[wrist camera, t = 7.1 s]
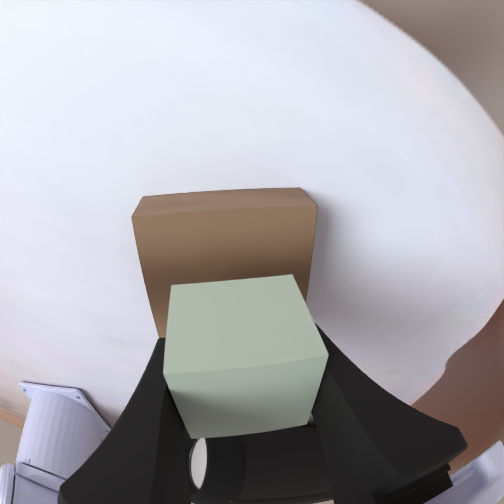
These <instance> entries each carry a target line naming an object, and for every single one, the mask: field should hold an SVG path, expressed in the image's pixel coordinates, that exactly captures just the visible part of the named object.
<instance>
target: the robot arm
mask: <svg viewBox="0 0 504 504" xmlns="http://www.w3.org/2000/svg"><path fill="white" fill-rule="evenodd" d="M315 325H316V327H317V329H318V332H319V334H320V336H321V338H322V341H323V343H324V345H325V347H326V350H327V352H328V354H329V355H328V359H327V362H326V366H325V369H324V373H323V376H322V379H321V383H320V386H319V389H318V392H317V396H316V399H315V402H314V405H313V408H312V411H311V413H312V416H313V418H314V421H315V424H316V426H317V429H318V432H319V435H320V439H321V443H322V447H323V451H324V455H325V459H326V464H327V468H328V473H329V478H330V483H331V488H332V494H333V500H334V504H495V503H497V502H498V501H499V499H500V498H502V497H503V496H504V446H503V444H502V443H501V441H498V442H497V443H496V444H494V445H493V446H492V447H491V448H489V449H488V450H487V451H486V452H484V453H483V454H482V455H480V456H479V457H478V458H476V459H475V460H473V461H472V462H471V463H469V464H468V465H466V466H465V467H463V468H462V469H460V470H459V471H457V472H456V473H454V474H453V475H452V476H450V477H449V475H448V471H450V466H449V464H448V463H449V462H450V461H451V460H453V459H454V458H455V457H457V456H458V455H459V454H461V453H462V452H463V451H464V450H466V448H467V445H468V444H467V443H466V441H465V439H464V437H463V435H462V433H461V432H460V430H459V429H458V428H457V427H455V426H452V425H449V424H447V423H444V422H441V421H439V420H436V419H434V418H432V417H430V416H428V415H426V414H424V413H422V412H419V411H418V410H416V409H414V408H413V407H411V406H409V405H407V404H406V403H404V402H402V401H401V400H399V399H397V398H396V397H395V396H393V395H392V394H390V393H389V392H387V391H386V390H385V389H383V388H382V387H380V386H379V385H378V384H377V383H375V382H374V381H373V380H372V379H370V378H369V377H368V376H367V375H366V374H365V373H364V372H362V371H361V370H360V369H359V368H358V367H357V366H356V365H355V364H354V363H353V362H352V361H351V360H350V359H349V358H348V357H347V356H346V355H345V354H343V353H342V351H341V350H340V349H339V348H338V347H337V346H336V345H335V344H334V343H333V342H332V341H331V340H330V339H329V338H328V337H327V335H326V334H325V333H324V332H323V331H322V330H321V329H320V328H319V326H318V325H317V324H316V323H315ZM165 342H166V338H159V339H158V340H157V343H156V346H155V348H154V351H153V353H152V356H151V358H150V360H149V362H148V365H147V367H146V369H145V371H144V373H143V375H142V377H141V379H140V382H139V384H138V386H137V388H136V389H135V391H134V393H133V395H132V397H131V398H130V400H129V402H128V404H127V406H126V407H125V409H124V411H123V412H122V414H121V416H120V417H119V419H118V420H117V422H116V423H115V425H114V426H113V428H112V429H111V428H110V427H109V426H108V425H107V423H106V422H105V421H104V420H103V419H102V417H101V416H100V415H99V414H98V413H97V411H96V410H95V409H94V408H93V406H92V405H91V404H90V402H89V401H88V400H87V398H86V397H85V396H84V394H83V393H82V392H81V391H80V390H79V389H75V388H64V387H55V386H47V385H40V384H33V383H26V382H19V384H18V385H19V387H20V388H21V389H22V391H23V392H24V393H25V394H26V395H27V396H28V398H29V399H30V400H31V404H30V407H29V410H28V414H27V417H26V421H25V424H24V428H23V432H22V436H21V440H20V445H19V449H18V454H17V459H16V463H15V464H13V465H11V464H9V463H7V464H5V465H2V466H1V469H0V504H191V501H190V494H189V487H188V480H187V471H186V462H185V446H184V440H185V424H184V422H183V420H182V418H181V415H180V413H179V411H178V409H177V406H176V404H175V402H174V399H173V397H172V394H171V392H170V389H169V387H168V385H167V382H166V379H165V377H164V374H163V369H164V354H165Z"/></svg>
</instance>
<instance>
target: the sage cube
mask: <svg viewBox="0 0 504 504" xmlns="http://www.w3.org/2000/svg"><path fill="white" fill-rule="evenodd" d="M328 355H329V354H328V352H327V350H326V347H325V345H324V343H323V341H322V338H321V336H320V334H319V332H318V329H317V327H316V325H315V323H314V321H313V318H312V316H311V314H310V312H309V310H308V307H307V305H306V303H305V301H304V299H303V297H302V294H301V292H300V290H299V288H298V286H297V284H296V281H295V279H294V277H293V275H292V274H291V275H281V276H271V277H261V278H250V279H239V280H228V281H217V282H205V283H192V284H179V285H171V292H170V301H169V310H168V320H167V330H166V342H165V354H164V369H163V374H164V377H165V379H166V382H167V385H168V387H169V389H170V392H171V394H172V397H173V399H174V402H175V404H176V406H177V409H178V411H179V413H180V415H181V418H182V420H183V422H184V424H185V426H186V429H187V431H188V433H189V435H190V437H191V439H194V438H212V437H225V436H235V435H244V434H252V433H260V432H267V431H273V430H279V429H285V428H290V427H296V426H301V425H305V424H307V422H308V420H309V417H310V414H311V411H312V408H313V405H314V402H315V399H316V396H317V392H318V389H319V386H320V383H321V379H322V376H323V373H324V369H325V366H326V362H327V359H328Z"/></svg>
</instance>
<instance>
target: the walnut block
mask: <svg viewBox="0 0 504 504" xmlns="http://www.w3.org/2000/svg"><path fill="white" fill-rule="evenodd" d="M317 207H318V205H317V204H316V203H315V202H314V201H313V200H312V199H311V198H310V197H309V196H308V195H307V194H306V193H305V192H304V191H303V190H302V189H301V188H262V189H238V190H219V191H203V192H189V193H176V194H165V195H154V196H144V197H142V199H141V201H140V202H139V204H138V206H137V208H136V209H135V211H134V213H133V215H132V217H131V218H132V223H133V229H134V234H135V240H136V245H137V250H138V255H139V259H140V264H141V269H142V273H143V278H144V282H145V286H146V290H147V294H148V298H149V302H150V306H151V310H152V314H153V317H154V321H155V325H156V328H157V332H158V335H159V338H166V330H167V320H168V310H169V301H170V292H171V285H179V284H192V283H205V282H217V281H228V280H239V279H250V278H261V277H271V276H281V275H291V274H292V275H293V277H294V279H295V281H296V284H297V286H298V288H299V290H300V292H301V294H302V297H303V299H304V301H305V303H306V297H307V290H308V283H309V275H310V268H311V260H312V252H313V244H314V235H315V226H316V217H317Z"/></svg>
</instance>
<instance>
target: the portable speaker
mask: <svg viewBox="0 0 504 504" xmlns="http://www.w3.org/2000/svg"><path fill="white" fill-rule="evenodd" d="M184 446H185V462H186V471H187V480H188V487H189V494H190V501H191V502H192V503H194V504H313V503H318V502H324V501H329V500H333V494H332V488H331V483H330V478H329V473H328V468H327V464H326V459H325V455H324V451H323V447H322V443H321V439H320V435H319V432H318V429H317V427H304V426H296V427H290V428H285V429H279V430H273V431H267V432H260V433H252V434H244V435H235V436H225V437H212V438H194V439H191V437H190V435H189V433H188V431H187V429H186V427H185V440H184Z"/></svg>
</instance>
